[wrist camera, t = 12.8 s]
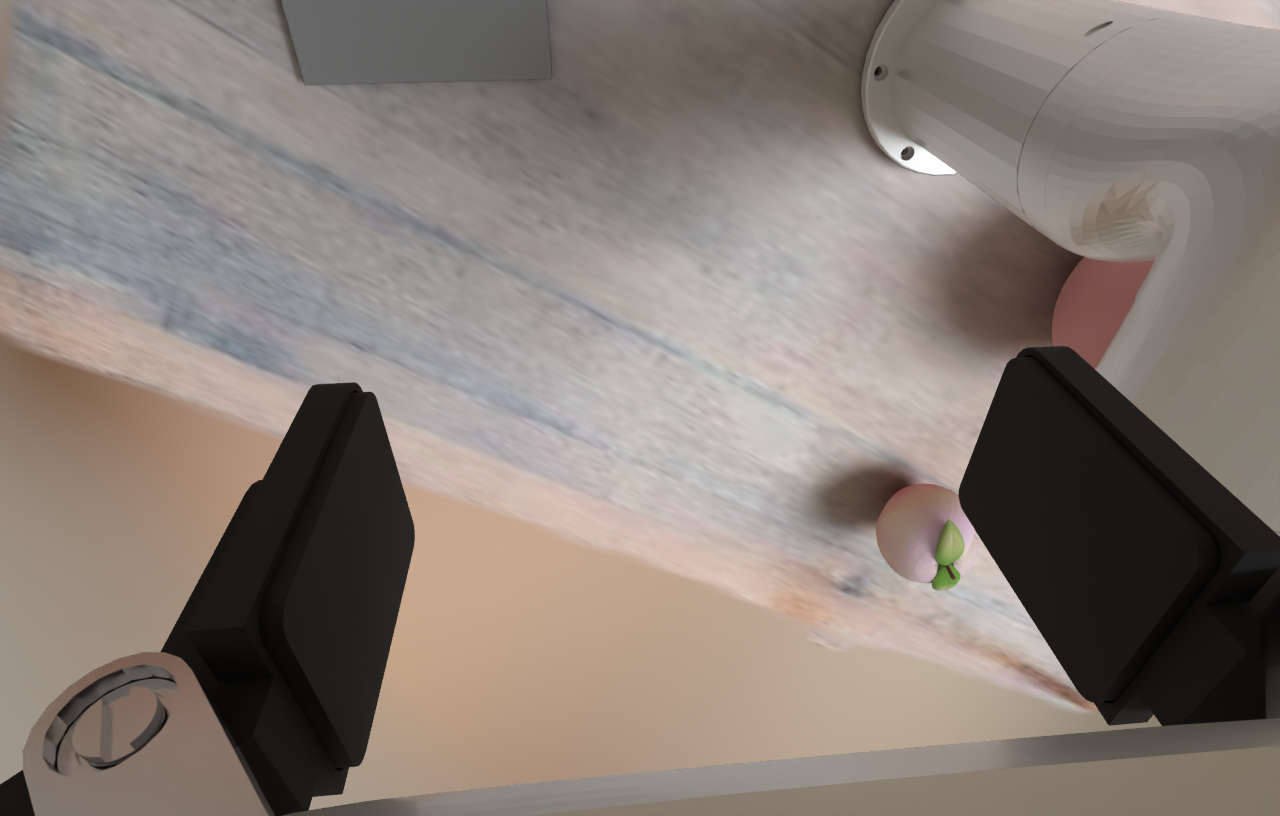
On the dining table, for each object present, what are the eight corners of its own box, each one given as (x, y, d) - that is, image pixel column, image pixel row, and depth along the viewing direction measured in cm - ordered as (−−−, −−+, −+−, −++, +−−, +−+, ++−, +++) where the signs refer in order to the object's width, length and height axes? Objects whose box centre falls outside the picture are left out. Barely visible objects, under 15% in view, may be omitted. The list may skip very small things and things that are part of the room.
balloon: (1106, 411, 60) (1244, 543, 48) (970, 299, 52) (1093, 424, 40) (1283, 279, 53) (1495, 394, 41) (1157, 125, 45) (1376, 212, 33)
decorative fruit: (851, 476, 62) (893, 562, 54) (940, 446, 61) (996, 530, 53) (869, 539, 68) (909, 625, 60) (951, 513, 67) (1003, 597, 59)
